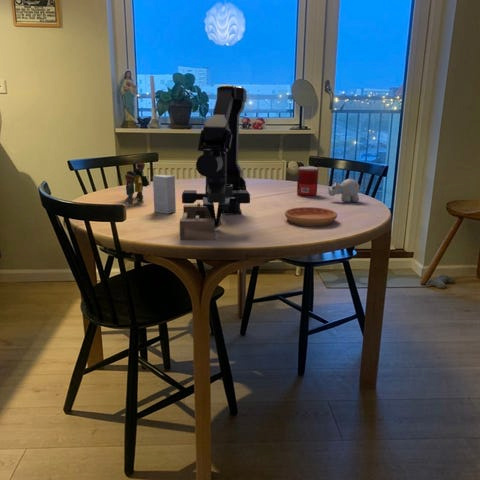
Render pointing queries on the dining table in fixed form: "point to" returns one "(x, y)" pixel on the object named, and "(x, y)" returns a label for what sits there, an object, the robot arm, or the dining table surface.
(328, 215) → the saucer
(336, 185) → the toy rhinoceros
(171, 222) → the dining table surface
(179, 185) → the dining table surface
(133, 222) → the dining table surface
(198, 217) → the open box
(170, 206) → the skincare box
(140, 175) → the dark toy figure
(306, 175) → the canned food
